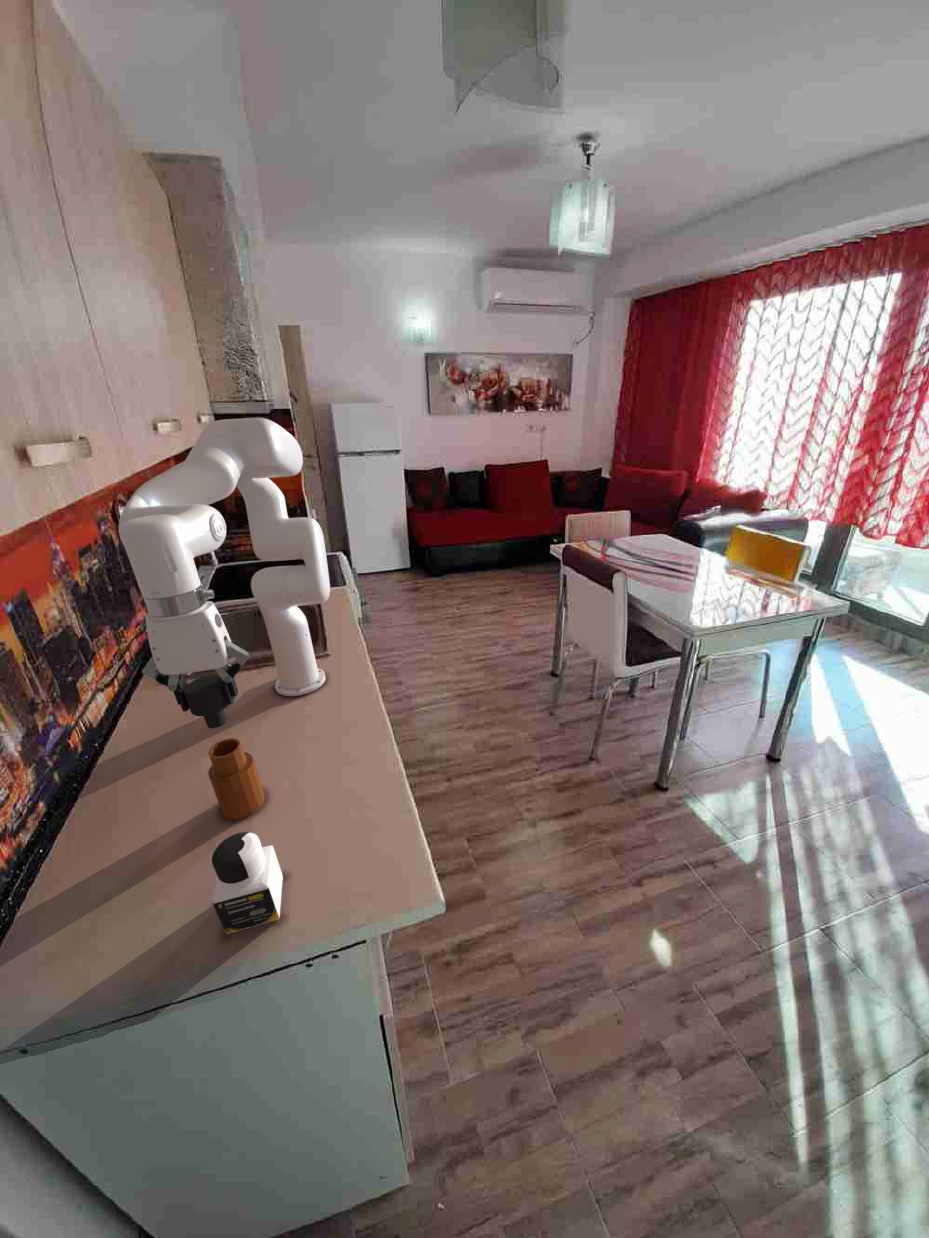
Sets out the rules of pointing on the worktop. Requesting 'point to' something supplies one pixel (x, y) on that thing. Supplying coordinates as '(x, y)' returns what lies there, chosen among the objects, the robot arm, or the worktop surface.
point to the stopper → (207, 700)
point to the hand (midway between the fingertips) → (210, 702)
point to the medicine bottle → (246, 883)
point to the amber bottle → (235, 779)
